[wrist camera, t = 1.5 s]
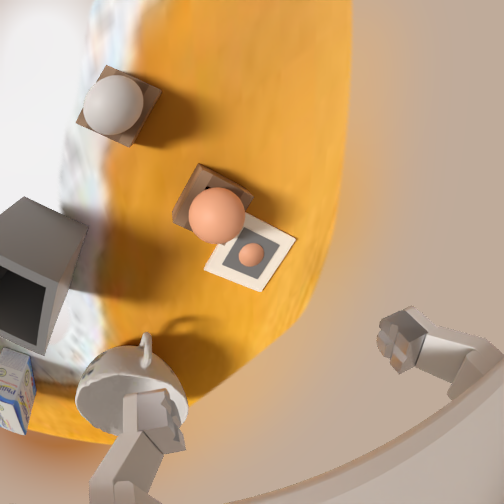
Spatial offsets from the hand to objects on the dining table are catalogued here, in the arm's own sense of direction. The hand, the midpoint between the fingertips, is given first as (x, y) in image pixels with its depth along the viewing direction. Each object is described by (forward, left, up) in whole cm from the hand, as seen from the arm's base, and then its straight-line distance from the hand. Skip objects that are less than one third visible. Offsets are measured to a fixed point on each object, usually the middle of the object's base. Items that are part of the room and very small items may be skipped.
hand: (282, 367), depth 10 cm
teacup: (+21, +1, -20) cm, 29 cm away
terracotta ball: (0, 0, -15) cm, 15 cm away
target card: (+3, +7, -20) cm, 21 cm away
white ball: (-4, -11, -16) cm, 19 cm away
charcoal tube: (+11, -13, -20) cm, 26 cm away
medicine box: (+32, -14, -20) cm, 40 cm away
